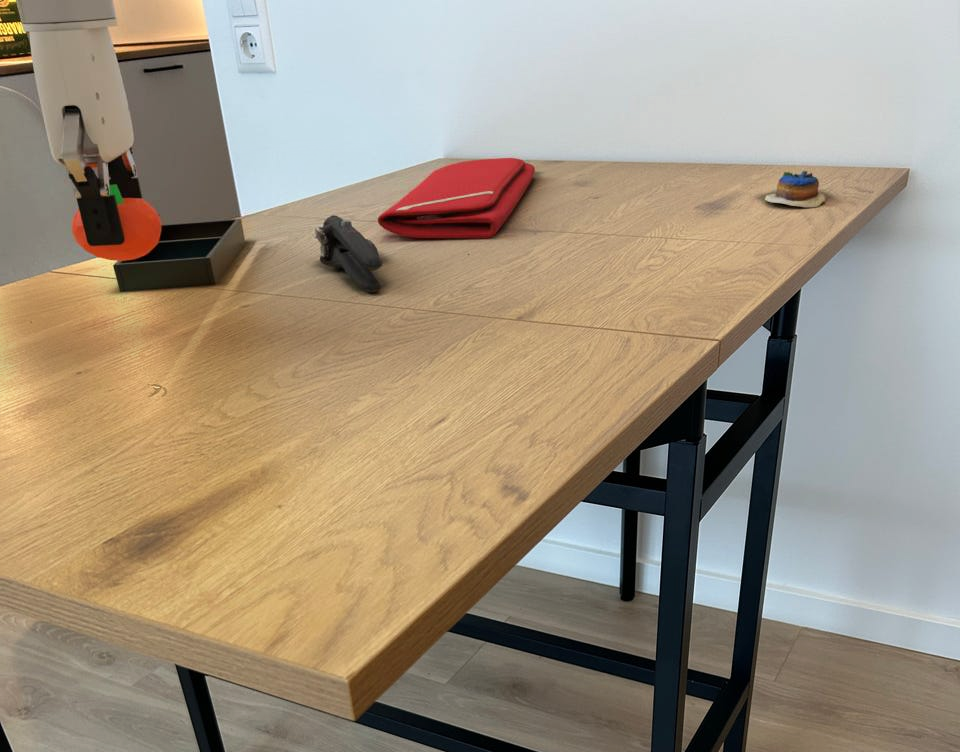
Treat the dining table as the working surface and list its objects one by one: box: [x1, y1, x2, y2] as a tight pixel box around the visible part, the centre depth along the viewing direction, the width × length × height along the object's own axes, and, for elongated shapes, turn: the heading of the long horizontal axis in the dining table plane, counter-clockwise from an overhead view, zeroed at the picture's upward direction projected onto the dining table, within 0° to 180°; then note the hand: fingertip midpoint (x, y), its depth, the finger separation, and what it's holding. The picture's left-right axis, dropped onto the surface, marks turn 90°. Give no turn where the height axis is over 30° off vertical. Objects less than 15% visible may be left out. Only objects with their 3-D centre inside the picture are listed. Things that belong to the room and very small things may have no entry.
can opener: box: [314, 214, 383, 293], centre depth 111 cm, size 18×7×6 cm, turn 18°
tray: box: [112, 218, 246, 293], centre depth 119 cm, size 11×21×4 cm, turn 2°
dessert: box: [764, 170, 826, 208], centre depth 129 cm, size 8×7×6 cm
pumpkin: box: [71, 184, 162, 262], centre depth 92 cm, size 7×8×6 cm
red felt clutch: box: [377, 157, 536, 239], centre depth 140 cm, size 16×41×4 cm, turn 171°
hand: (118, 232), depth 92 cm, fingers closed on pumpkin, 7 cm apart
